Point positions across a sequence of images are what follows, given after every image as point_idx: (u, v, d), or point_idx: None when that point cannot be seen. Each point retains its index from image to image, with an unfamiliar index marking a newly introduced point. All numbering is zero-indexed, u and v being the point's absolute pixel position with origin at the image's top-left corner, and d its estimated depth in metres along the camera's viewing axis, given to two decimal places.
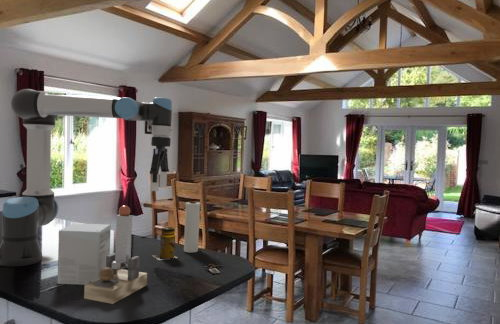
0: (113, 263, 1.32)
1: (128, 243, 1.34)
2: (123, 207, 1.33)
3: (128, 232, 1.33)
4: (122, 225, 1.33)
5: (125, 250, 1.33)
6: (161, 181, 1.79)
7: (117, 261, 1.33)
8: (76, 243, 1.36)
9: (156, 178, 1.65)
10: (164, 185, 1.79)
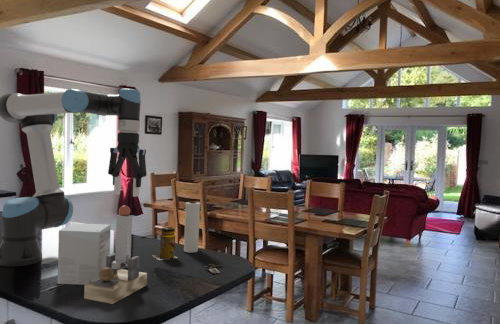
0: (113, 263, 1.32)
1: (128, 243, 1.34)
2: (123, 207, 1.33)
3: (128, 232, 1.33)
4: (122, 225, 1.33)
5: (125, 250, 1.33)
6: None
7: (117, 261, 1.33)
8: (76, 243, 1.36)
9: (114, 181, 1.55)
10: None
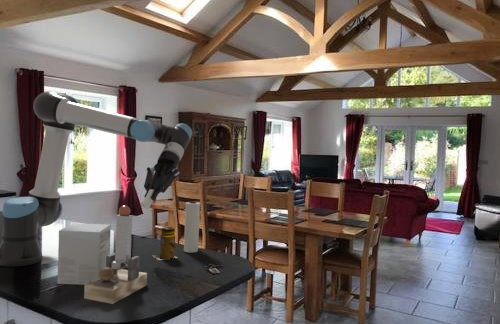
0: (113, 263, 1.32)
1: (128, 243, 1.34)
2: (123, 207, 1.33)
3: (128, 232, 1.33)
4: (122, 225, 1.33)
5: (125, 250, 1.33)
6: None
7: (117, 261, 1.33)
8: (76, 243, 1.36)
9: (147, 193, 1.48)
10: None
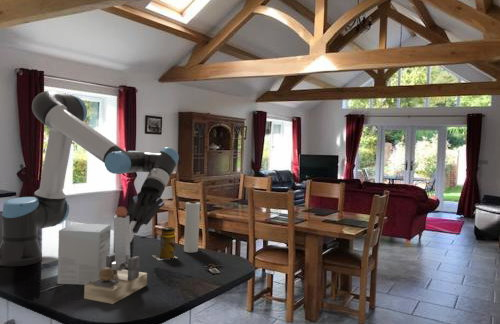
0: (113, 264, 1.32)
1: (127, 244, 1.33)
2: (120, 208, 1.31)
3: (126, 233, 1.32)
4: (120, 226, 1.32)
5: (124, 251, 1.32)
6: None
7: (117, 262, 1.33)
8: (76, 243, 1.36)
9: None
10: None
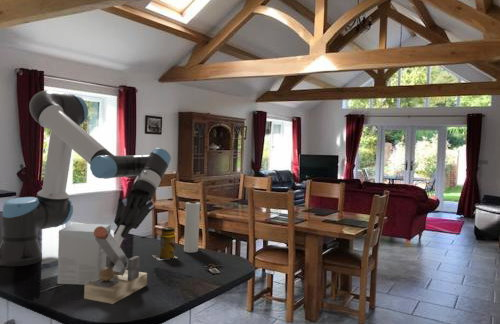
0: (113, 271, 1.32)
1: (119, 253, 1.29)
2: (97, 232, 1.21)
3: (114, 247, 1.27)
4: (105, 244, 1.25)
5: (119, 259, 1.30)
6: None
7: (116, 267, 1.32)
8: (76, 243, 1.36)
9: (117, 230, 1.33)
10: None
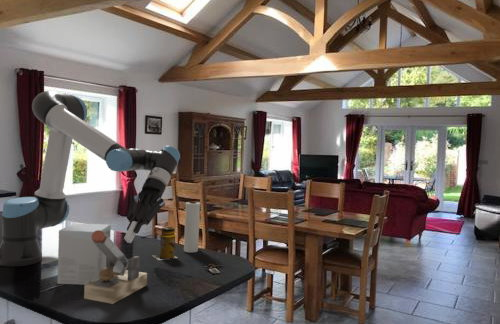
0: (114, 272, 1.32)
1: (118, 254, 1.29)
2: (95, 237, 1.21)
3: (113, 249, 1.26)
4: (104, 247, 1.25)
5: (119, 261, 1.30)
6: None
7: (116, 268, 1.33)
8: (76, 243, 1.36)
9: (129, 225, 1.40)
10: None
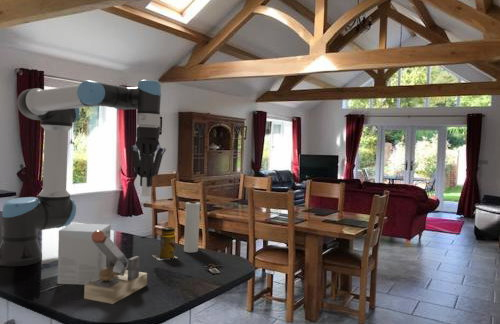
0: (114, 272, 1.32)
1: (118, 254, 1.29)
2: (95, 237, 1.21)
3: (113, 249, 1.26)
4: (104, 247, 1.25)
5: (119, 261, 1.30)
6: None
7: (116, 268, 1.33)
8: (76, 243, 1.36)
9: (141, 181, 1.45)
10: None
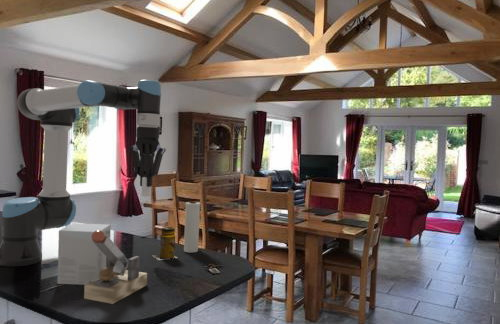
0: (114, 272, 1.32)
1: (118, 254, 1.29)
2: (95, 237, 1.21)
3: (113, 249, 1.26)
4: (104, 247, 1.25)
5: (119, 261, 1.30)
6: None
7: (116, 268, 1.33)
8: (76, 243, 1.36)
9: (141, 181, 1.45)
10: None
